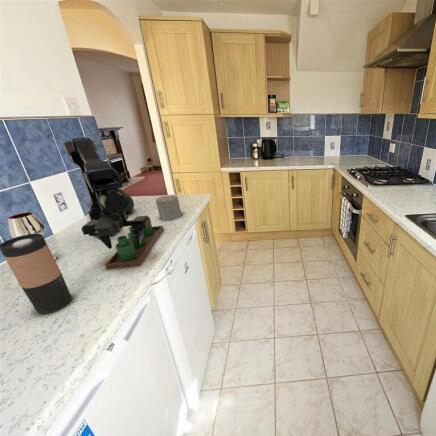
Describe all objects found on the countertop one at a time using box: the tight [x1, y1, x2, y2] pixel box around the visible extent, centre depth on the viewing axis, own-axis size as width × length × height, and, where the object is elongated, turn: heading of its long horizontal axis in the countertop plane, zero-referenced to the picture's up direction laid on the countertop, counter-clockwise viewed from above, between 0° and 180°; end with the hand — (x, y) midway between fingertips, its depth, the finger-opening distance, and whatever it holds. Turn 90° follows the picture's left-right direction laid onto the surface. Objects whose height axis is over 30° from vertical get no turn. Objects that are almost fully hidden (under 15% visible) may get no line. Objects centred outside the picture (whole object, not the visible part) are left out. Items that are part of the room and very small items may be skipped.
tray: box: [104, 225, 165, 270], centre depth 95 cm, size 10×29×2 cm, turn 11°
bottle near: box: [143, 222, 154, 238], centre depth 102 cm, size 5×5×8 cm
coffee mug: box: [155, 194, 182, 221], centre depth 123 cm, size 13×10×10 cm
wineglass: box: [7, 211, 57, 261], centre depth 83 cm, size 8×8×18 cm
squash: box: [117, 188, 135, 216], centre depth 125 cm, size 14×15×15 cm
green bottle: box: [115, 235, 137, 262], centre depth 85 cm, size 5×5×8 cm
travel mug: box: [0, 234, 73, 315], centre depth 63 cm, size 8×8×20 cm
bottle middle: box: [126, 226, 146, 249], centre depth 94 cm, size 5×5×8 cm
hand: (125, 246), depth 85 cm, fingers open, 9 cm apart
